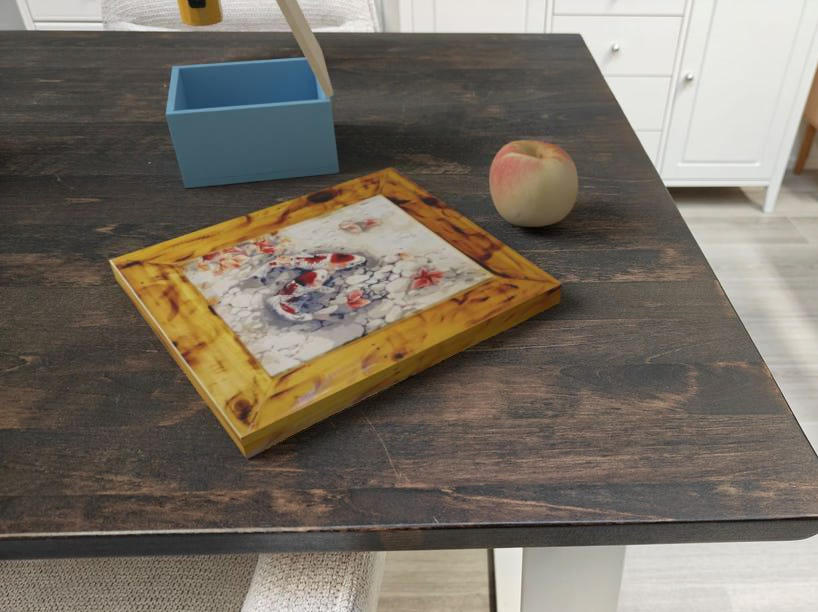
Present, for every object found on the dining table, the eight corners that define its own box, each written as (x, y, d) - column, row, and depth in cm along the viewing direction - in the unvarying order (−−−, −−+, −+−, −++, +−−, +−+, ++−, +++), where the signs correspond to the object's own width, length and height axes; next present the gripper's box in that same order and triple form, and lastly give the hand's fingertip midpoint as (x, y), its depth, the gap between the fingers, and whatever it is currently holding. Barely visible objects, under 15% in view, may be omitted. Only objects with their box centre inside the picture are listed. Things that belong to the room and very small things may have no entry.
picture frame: (561, 283, 65) (240, 438, 51) (559, 303, 66) (246, 458, 52) (391, 167, 81) (108, 260, 66) (392, 185, 82) (116, 279, 68)
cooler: (185, 188, 80) (165, 114, 75) (189, 134, 90) (172, 66, 85) (339, 173, 84) (331, 101, 78) (327, 123, 94) (319, 56, 88)
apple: (476, 207, 79) (477, 136, 73) (552, 193, 81) (558, 123, 76) (509, 250, 73) (513, 175, 67) (589, 233, 75) (599, 160, 70)
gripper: (140, -155, 96) (172, -13, 107) (130, -138, 85) (167, 18, 96) (201, -155, 97) (227, -15, 108) (199, -138, 87) (227, 15, 98)
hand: (198, 0), depth 102 cm, fingers closed on cup, 5 cm apart
